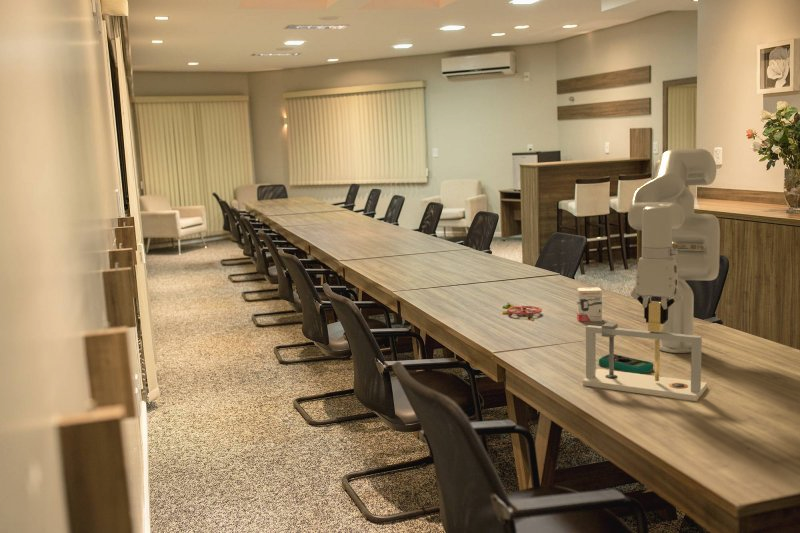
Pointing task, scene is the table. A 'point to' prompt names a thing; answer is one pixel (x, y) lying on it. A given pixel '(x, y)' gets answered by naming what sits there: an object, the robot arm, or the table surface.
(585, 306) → the ink box
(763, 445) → the table surface
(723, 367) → the table surface
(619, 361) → the digital multimeter
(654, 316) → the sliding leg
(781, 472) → the table surface
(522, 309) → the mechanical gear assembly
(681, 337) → the white rack frame
